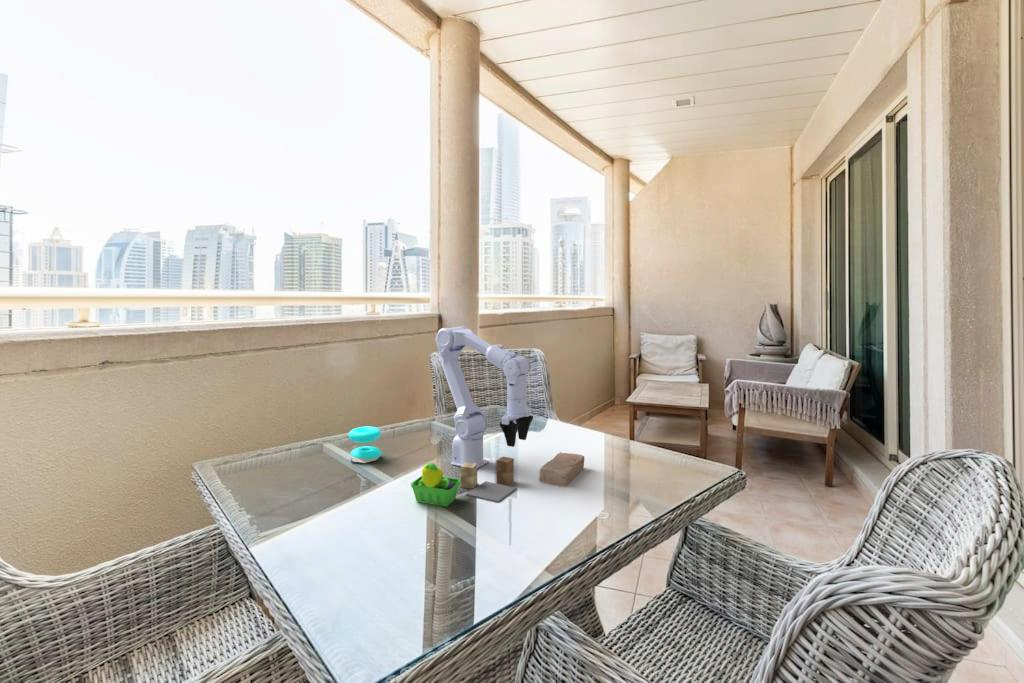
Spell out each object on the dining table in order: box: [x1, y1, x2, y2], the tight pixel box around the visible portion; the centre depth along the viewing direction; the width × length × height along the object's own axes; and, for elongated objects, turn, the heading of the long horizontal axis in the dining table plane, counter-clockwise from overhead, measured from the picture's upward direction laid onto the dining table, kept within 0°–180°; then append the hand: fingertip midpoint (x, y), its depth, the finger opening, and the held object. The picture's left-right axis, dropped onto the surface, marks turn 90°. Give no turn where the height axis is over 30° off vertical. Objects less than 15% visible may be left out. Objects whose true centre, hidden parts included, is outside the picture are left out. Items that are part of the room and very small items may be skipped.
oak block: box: [460, 462, 478, 490], centre depth 140 cm, size 4×4×6 cm
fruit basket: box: [410, 462, 461, 507], centre depth 129 cm, size 11×9×11 cm
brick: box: [538, 452, 585, 488], centre depth 148 cm, size 16×8×5 cm, turn 152°
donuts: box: [348, 425, 382, 459], centre depth 162 cm, size 10×10×10 cm
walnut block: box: [495, 456, 515, 486], centre depth 142 cm, size 4×4×7 cm
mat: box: [465, 481, 517, 504], centre depth 136 cm, size 10×10×1 cm
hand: (516, 442), depth 147 cm, fingers open, 7 cm apart
